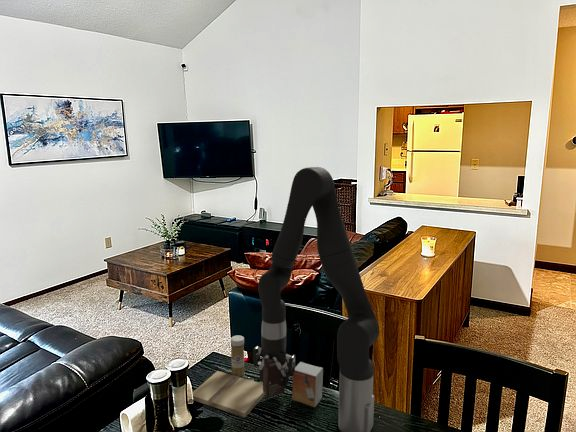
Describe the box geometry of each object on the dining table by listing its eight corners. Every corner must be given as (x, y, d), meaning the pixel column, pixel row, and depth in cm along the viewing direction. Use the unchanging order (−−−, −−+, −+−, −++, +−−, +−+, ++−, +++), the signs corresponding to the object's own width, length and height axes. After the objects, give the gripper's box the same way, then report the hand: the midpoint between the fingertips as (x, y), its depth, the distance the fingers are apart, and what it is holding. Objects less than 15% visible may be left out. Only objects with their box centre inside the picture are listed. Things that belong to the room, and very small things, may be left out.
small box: (291, 400, 131) (292, 369, 129) (299, 390, 135) (300, 361, 133) (315, 408, 127) (315, 376, 125) (322, 398, 132) (323, 367, 130)
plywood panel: (269, 389, 136) (269, 385, 135) (245, 417, 122) (244, 412, 122) (217, 374, 144) (217, 370, 144) (189, 399, 131) (189, 394, 131)
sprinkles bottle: (233, 378, 142) (232, 342, 139) (229, 371, 146) (228, 336, 143) (246, 375, 144) (245, 339, 141) (242, 369, 148) (241, 333, 145)
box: (268, 398, 127) (268, 362, 125) (262, 390, 131) (262, 355, 129) (286, 393, 130) (286, 358, 128) (279, 385, 134) (279, 351, 132)
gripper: (300, 332, 127) (299, 382, 130) (259, 323, 133) (259, 370, 136) (290, 343, 121) (289, 395, 124) (247, 333, 127) (247, 382, 130)
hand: (273, 382), depth 130 cm, fingers closed on box, 6 cm apart
